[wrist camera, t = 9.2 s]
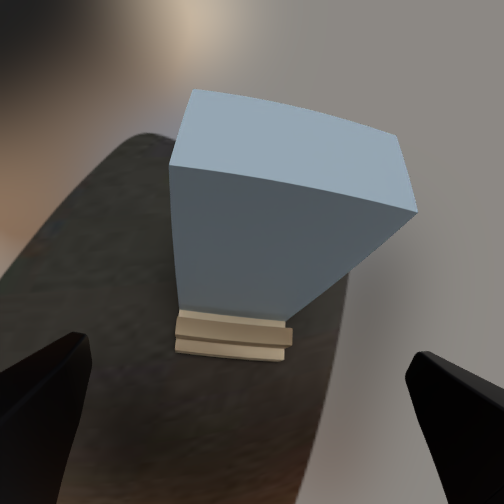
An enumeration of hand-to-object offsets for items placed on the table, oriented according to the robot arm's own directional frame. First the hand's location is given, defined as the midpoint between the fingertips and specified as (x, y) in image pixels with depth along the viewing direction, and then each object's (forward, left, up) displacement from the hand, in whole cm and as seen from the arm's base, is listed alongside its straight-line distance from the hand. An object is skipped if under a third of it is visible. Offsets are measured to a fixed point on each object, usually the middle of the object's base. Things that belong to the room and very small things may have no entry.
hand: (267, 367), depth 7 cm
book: (+5, 0, -11) cm, 12 cm away
